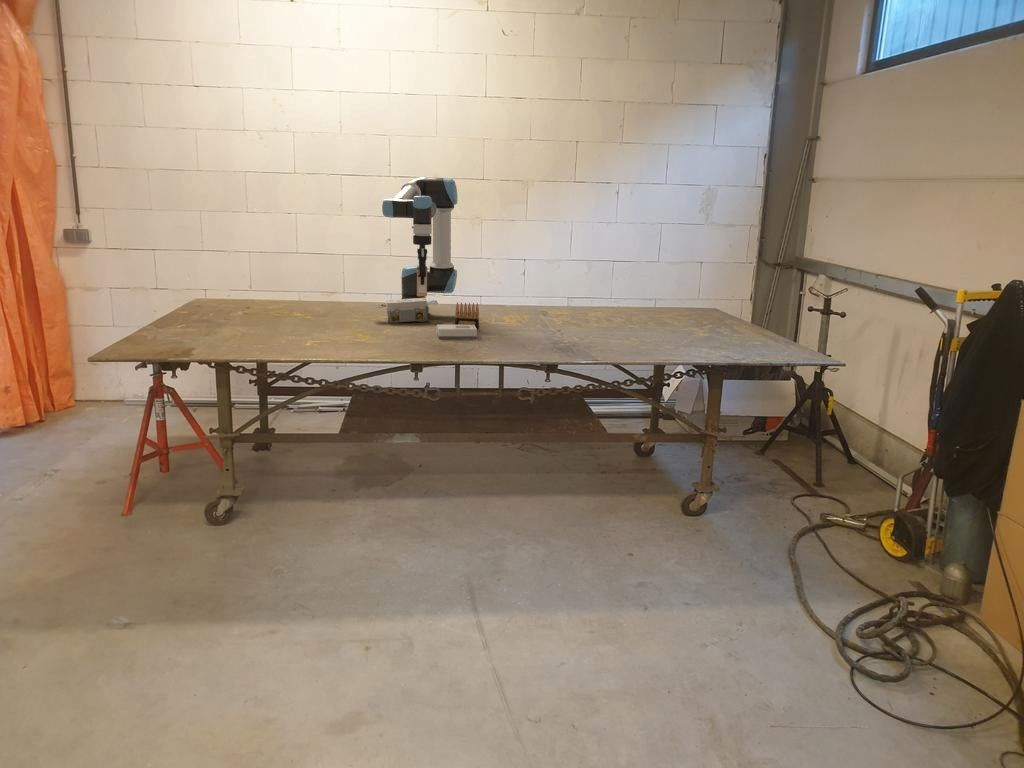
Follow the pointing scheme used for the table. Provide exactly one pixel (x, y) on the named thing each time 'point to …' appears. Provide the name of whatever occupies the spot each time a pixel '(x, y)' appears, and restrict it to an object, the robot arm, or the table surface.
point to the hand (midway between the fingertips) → (422, 291)
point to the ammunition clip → (467, 315)
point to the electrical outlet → (406, 309)
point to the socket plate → (456, 332)
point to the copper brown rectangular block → (418, 283)
